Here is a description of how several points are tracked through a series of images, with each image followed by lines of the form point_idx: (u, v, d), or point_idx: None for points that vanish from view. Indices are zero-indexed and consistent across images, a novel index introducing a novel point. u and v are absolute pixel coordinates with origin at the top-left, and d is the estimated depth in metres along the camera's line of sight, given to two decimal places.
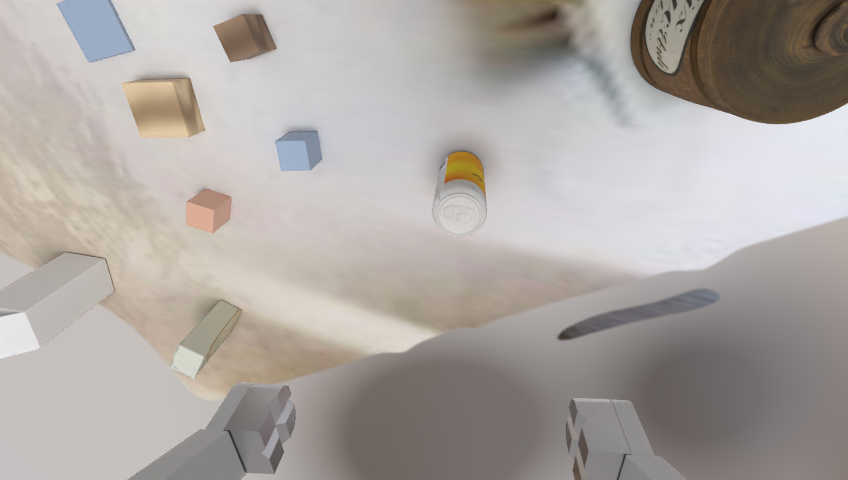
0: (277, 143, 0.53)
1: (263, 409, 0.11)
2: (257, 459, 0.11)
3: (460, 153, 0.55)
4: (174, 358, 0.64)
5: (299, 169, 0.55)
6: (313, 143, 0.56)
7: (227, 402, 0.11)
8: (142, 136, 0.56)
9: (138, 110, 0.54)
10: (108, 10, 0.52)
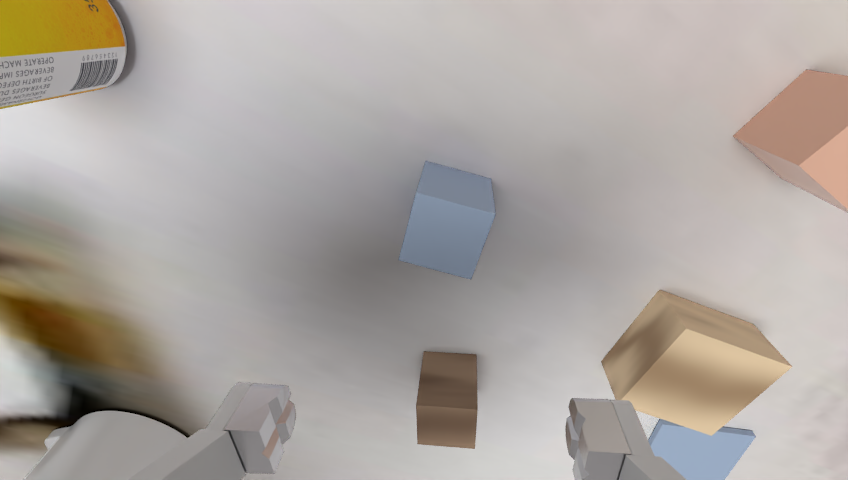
0: (467, 273, 0.22)
1: (263, 409, 0.11)
2: (257, 459, 0.11)
3: None
4: None
5: (444, 203, 0.20)
6: None
7: (227, 402, 0.11)
8: (786, 367, 0.24)
9: (734, 398, 0.26)
10: None
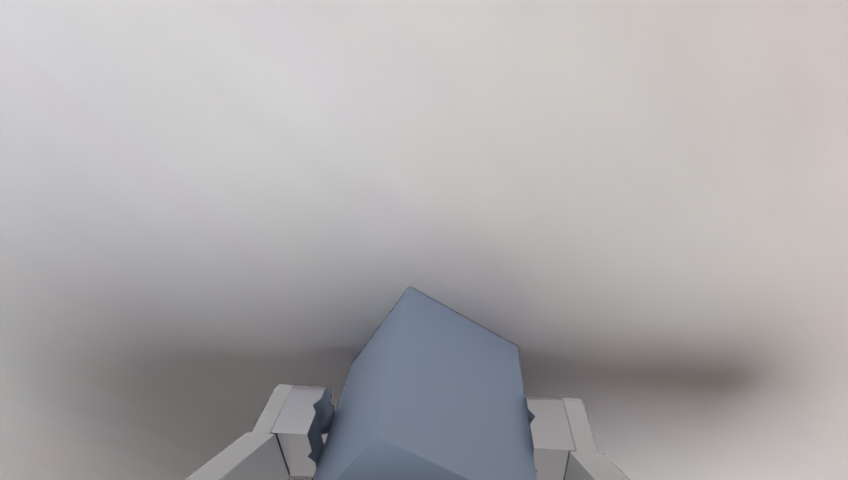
0: None
1: (308, 411, 0.11)
2: (302, 463, 0.11)
3: None
4: None
5: (436, 469, 0.08)
6: (348, 400, 0.12)
7: (271, 404, 0.11)
8: None
9: None
10: None
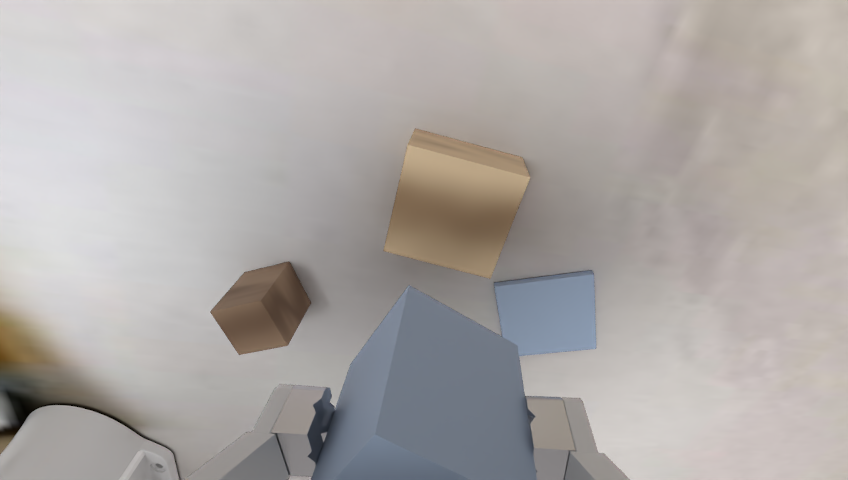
0: None
1: (308, 411, 0.11)
2: (302, 462, 0.11)
3: None
4: None
5: (435, 468, 0.08)
6: (347, 399, 0.12)
7: (271, 404, 0.11)
8: (525, 178, 0.23)
9: (491, 227, 0.24)
10: (509, 335, 0.32)
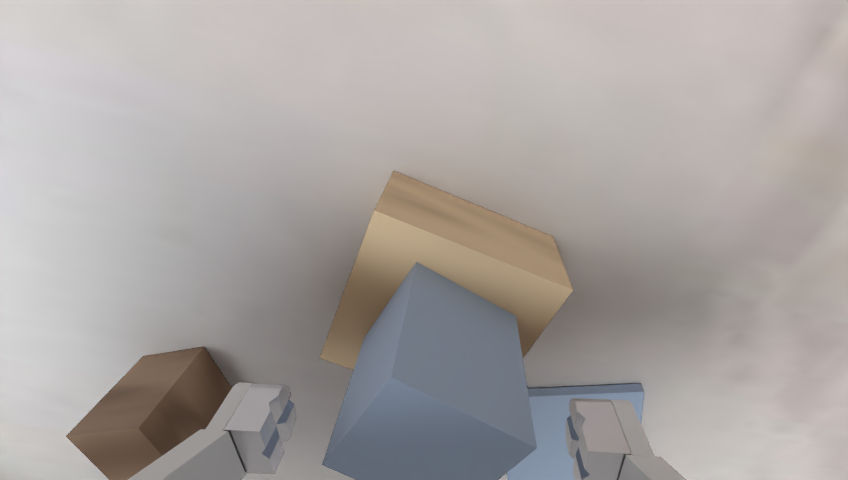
0: None
1: (263, 409, 0.11)
2: (257, 459, 0.11)
3: None
4: None
5: (443, 408, 0.09)
6: (363, 363, 0.13)
7: (227, 402, 0.11)
8: (564, 290, 0.14)
9: None
10: None
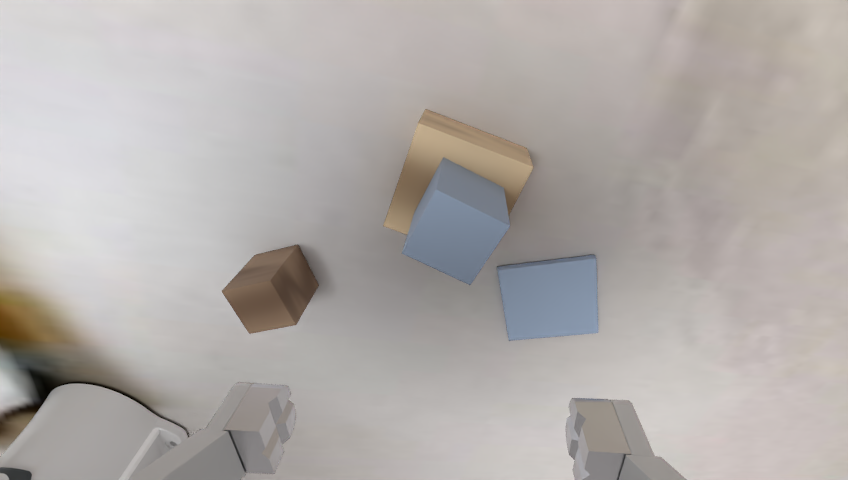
0: (468, 278, 0.21)
1: (263, 409, 0.11)
2: (257, 459, 0.11)
3: None
4: None
5: (462, 205, 0.19)
6: (417, 213, 0.23)
7: (227, 402, 0.11)
8: (528, 167, 0.23)
9: None
10: (512, 318, 0.33)
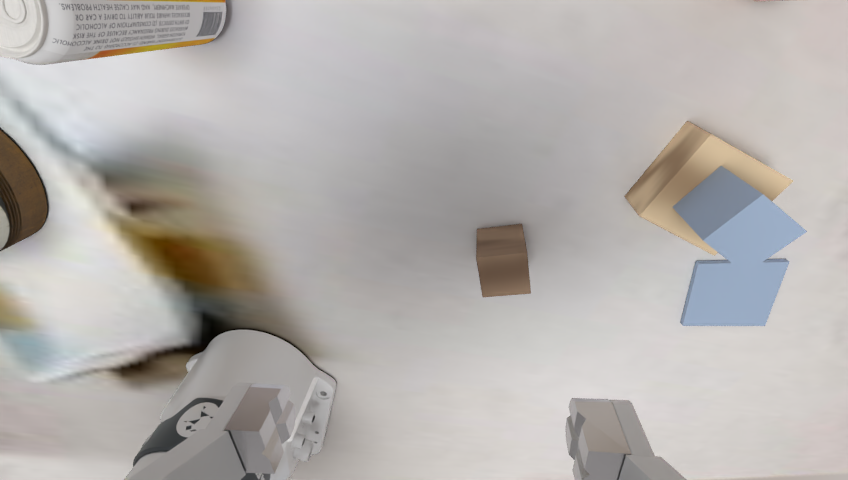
0: (747, 268, 0.26)
1: (263, 409, 0.11)
2: (257, 459, 0.11)
3: None
4: None
5: (777, 210, 0.24)
6: (699, 209, 0.28)
7: (227, 401, 0.11)
8: (789, 180, 0.28)
9: None
10: (693, 306, 0.38)
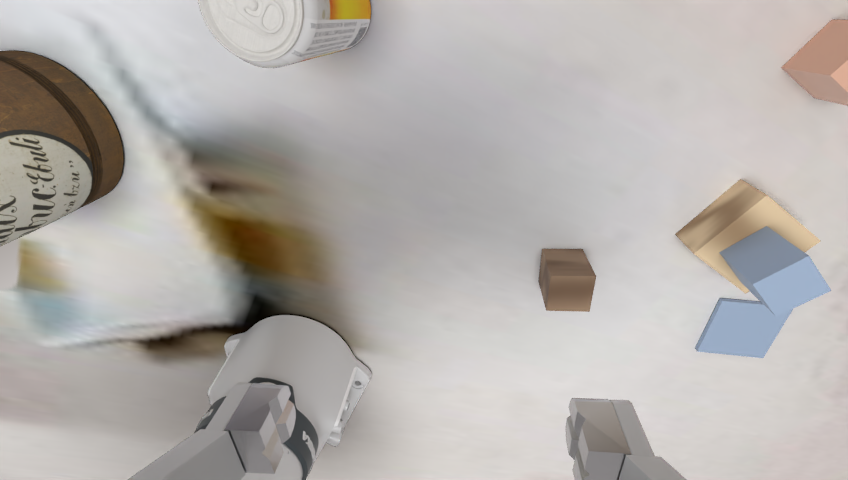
0: (778, 312, 0.33)
1: (263, 409, 0.11)
2: (257, 459, 0.11)
3: None
4: None
5: (815, 270, 0.31)
6: (747, 258, 0.34)
7: (227, 402, 0.11)
8: (817, 240, 0.35)
9: None
10: (710, 336, 0.44)
